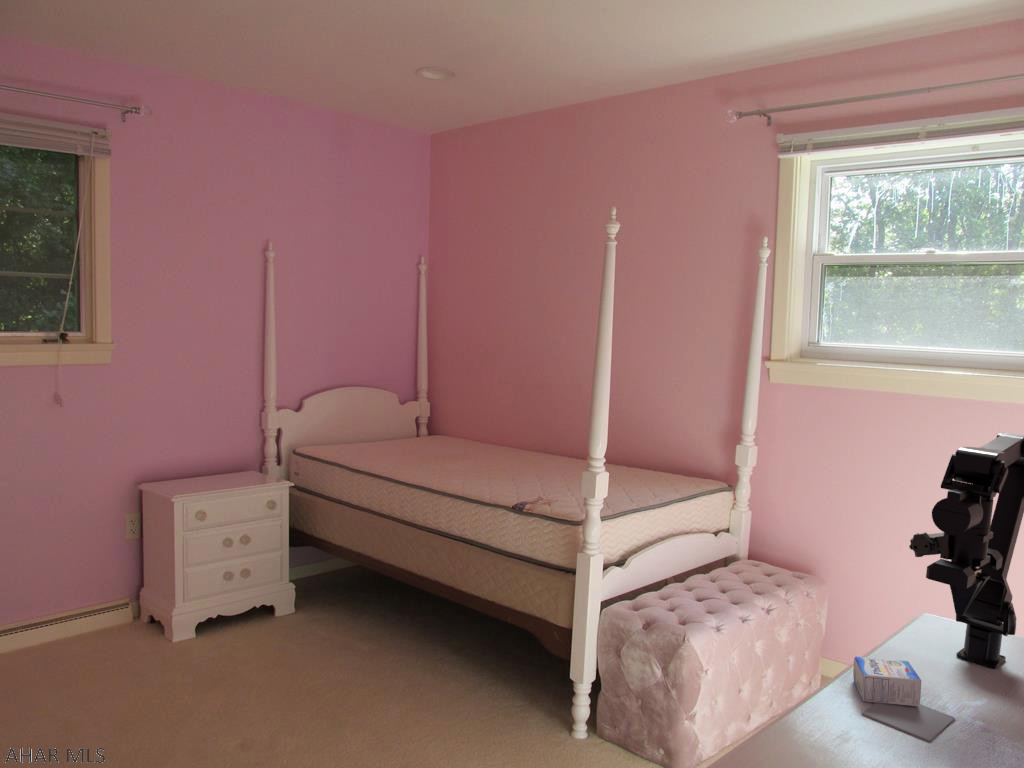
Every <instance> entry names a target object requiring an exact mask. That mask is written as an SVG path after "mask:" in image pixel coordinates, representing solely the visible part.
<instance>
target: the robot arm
mask: <svg viewBox="0 0 1024 768" xmlns="http://www.w3.org/2000/svg"><path fill="white" fill-rule="evenodd" d="M947 464H948V465H947V467H946V470H945V473H944V475H943V479H942V481H941V483H940V489H944V490H948V491H947V495H946V497H945V498H942V499H940V500H939V501H937V502H936V503H935V504H934V506H933V508H932V509H931V519H932V521H933V523H934V526H935V527H937V528H938V529H939V530H940V531H941V532H937V533H927V532H922V533H915V534H913V537H912V538H910V544H909V545H908V547H909V549H910V550H911V551H913V553H914V557H915V558H922V557H924V556H933V555H935V556H936V555H939V558H940V559H938V560H936V561H934V562H932V563H931V564H929V565H927V566H926V573H925V578H926V579H927V580H931V581H932V582H933V581H935V582H938V583H941V584H944V585H945V584H946V585H949V588H950V592H951V596H952V597H951V598H952V602H953V603H952V604H953V607H954V613H955V621H956V622H957V623H963V624H965V625H966V629H965V637H964V646H963V648H962V649H960V650H959V651H958V652H956V657H958V658H960V659H964V660H967V661H970V662H974V663H976V664H979V665H982V666H986V667H988V668H991V669H996V668H998V667H999V666H1000V665H1001V664H1002V663H1003V662H1004V661H1006V656H1005V655H1002V654H1000V653H1001V649H1002V641H1003V639H1002V638H1003V636H1005V637H1008V636H1015V635H1016V631H1017V615H1016V612H1015V608H1014V604H1013V602H1012V601H1013V594H1012V591H1011V588H1010V585H1009V583H1008V581H1007V580H1008V579H1007V577H1008V574H1009V571H1010V566H1011V563H1012V559H1013V555H1014V551H1015V547H1016V544H1017V539H1018V536H1019V532H1020V529H1021V525H1022V522H1023V517H1024V435H1023V434H1015V433H1011V432H1002V433H997V435H996V437H995V438H994V439H992V440H991V441H989V442H987V443H985V444H984V445H982V446H980V447H976V446H975V447H974V446H962V447H959V448H958V449H956V451H955V452H953V453H952V454H951V456H950V459H949V462H948V463H947ZM997 494H998V497H997V496H996V495H997ZM995 497H997V500H996V503H995V508H994V511H993V507H994V498H995Z"/></svg>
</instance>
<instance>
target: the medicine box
mask: <svg viewBox="0 0 1024 768" xmlns="http://www.w3.org/2000/svg"><path fill="white" fill-rule="evenodd" d="M852 676H853V677H852V678H853V682H854V683H855V686H856V688H857V690H858V692H859V694H860V696H861V698H862V701H864V702H867V703H869V702H870V703H876V702H877V703H887V704H897V705H908V706H920V704H921V697H922V696H921V693H922V692H921V691H922V679H921V678H920V676H919V675H918V673H917V672H916V670H915V669H914V668H913V666H912V664H911V663H910V662H909V661H907V660H899V659H898V660H897V659H887V658H885V659H884V658H876V657H867V656H866V657H864V656H854V657H853V675H852Z"/></svg>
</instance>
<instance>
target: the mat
mask: <svg viewBox="0 0 1024 768" xmlns="http://www.w3.org/2000/svg"><path fill="white" fill-rule="evenodd" d="M861 715H862V716H865V717H867V718H869V719H871V720H874V721H877V722H879V723H881V724H884V725H886V726H888V727H891V728H894V729H896V730H898V731H901V732H904V733H906V734H908V735H911V736H913V737H916V738H918V739H921V740H923V741H925V742H928V743H931V742H932V741H933V740H934V739H935V738H936V737H937V736H939V734H941V732H943V731H944V730H945V729H946V728H948V727H949V725H951V724H952V723H953V722H954V721H955V720H956V716H955V717H954V716H952V715H950V714H947V713H944V712H942V711H939V710H936V709H934V708H931V707H929V706H926V705H924V704H921V703H920V706H908V705H897V704H887V703H877V702H874V703H873V704H872V705H870V706H869V707H868V708H866V709H865V710H864V711H862V712H861Z"/></svg>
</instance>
